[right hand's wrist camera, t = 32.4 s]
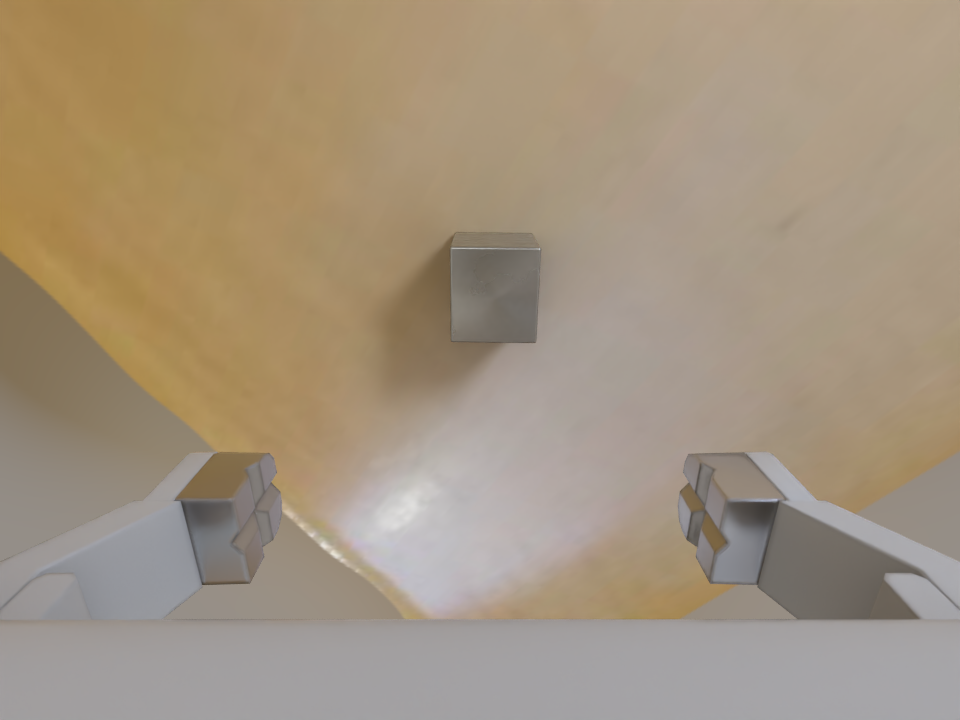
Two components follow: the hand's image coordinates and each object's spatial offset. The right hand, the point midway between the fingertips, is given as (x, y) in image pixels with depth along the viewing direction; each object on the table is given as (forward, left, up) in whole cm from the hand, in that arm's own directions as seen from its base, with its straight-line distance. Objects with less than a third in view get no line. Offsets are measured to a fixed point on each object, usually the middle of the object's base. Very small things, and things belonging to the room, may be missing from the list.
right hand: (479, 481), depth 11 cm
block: (-1, 0, -20) cm, 20 cm away
